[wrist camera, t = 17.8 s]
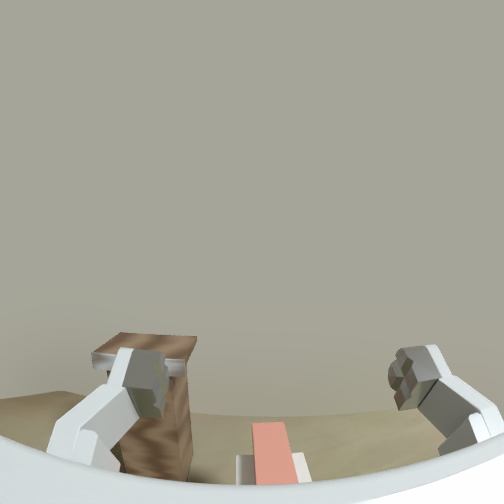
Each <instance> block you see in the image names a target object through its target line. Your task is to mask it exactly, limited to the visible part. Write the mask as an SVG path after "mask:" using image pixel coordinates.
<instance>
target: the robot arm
mask: <svg viewBox="0 0 504 504" xmlns="http://www.w3.org/2000/svg"><path fill="white" fill-rule="evenodd" d="M396 358H397V359H396V360H395V361H394V362H393V363H392V364H391V365H390V368H389V371H388V380H389V384H390V387H391V388H392V389H394V390H395V391H396V393H395V395H394V399H395V401H396V404H397V407H398V410H399V411H401V410H408V409H414V408H418V410H419V411H420V412H421V413H422V414H423V415H424V416H425V417H426V418H427V419H428V420H429V421H430V422H431V423H432V424H433V425H434V426H435V427H436V428H437V429H438V430H439V431H440V432H441V433H442V434H443V435H444V436H445V437H446V438H447V439H446V440H445V441H444V442H443V443H442V444H441V445H440V446H439V448H438V451H439V454H440V456H439V457H436V458H432V459H429V460H425V461H422V462H418V463H415V464H411V465H407V466H403V467H399V468H394V469H390V470H385V471H381V472H376V473H371V474H365V475H359V476H353V477H347V478H340V479H333V480H325V481H315V482H305V483H292V484H272V485H225V484H205V483H192V482H181V481H172V480H164V479H157V478H150V477H143V476H137V475H132V474H126V473H121V472H119V470H120V462H119V461H118V460H117V458H116V457H115V456H114V455H113V454H112V452H111V451H110V450H111V449H112V447H113V446H114V445H115V444H116V443H117V442H118V441H119V440H120V439H121V438H122V437H123V435H124V434H125V433H126V432H127V431H128V430H129V429H130V428H131V427H132V425H133V424H134V423H135V422H136V421H137V420H138V419H139V416H140V417H150V418H161V419H163V415H164V410H165V404H166V402H165V399H164V395H165V394H166V393H167V392H168V387H169V371H168V367H167V366H166V365H165V359H166V358H165V355H164V352H160V351H150V350H142V349H133V348H124V347H121V348H120V349H119V350H118V352H117V355H116V358H115V360H114V363H113V366H112V369H111V372H110V375H109V378H108V381H107V384H102V385H101V386H99V387H98V388H97V389H96V390H95V391H93V392H92V393H91V394H90V395H88V396H87V397H86V398H85V399H83V400H82V401H81V402H80V403H78V404H77V405H76V406H75V407H73V408H72V409H71V410H70V411H68V412H67V413H66V414H65V415H63V416H62V417H61V418H60V419H59V420H57V421H56V424H55V427H54V430H53V433H52V436H51V439H50V442H49V445H48V448H47V451H46V452H43V451H40V450H37V449H34V448H32V447H29V446H26V445H24V444H21V443H18V442H16V441H13V440H11V439H8V438H6V437H4V436H1V435H0V504H504V422H503V419H502V417H501V415H500V413H499V411H498V409H497V407H496V405H495V404H493V403H492V402H491V401H489V400H488V399H487V398H485V397H484V396H483V395H481V394H480V393H479V392H477V391H476V390H474V389H473V388H472V387H470V386H469V385H468V384H466V383H465V382H463V381H462V380H461V379H459V378H458V377H457V376H452V374H451V372H450V370H449V368H448V366H447V364H446V362H445V360H444V358H443V356H442V354H441V352H440V350H439V348H438V347H437V346H436V345H434V344H433V345H425V346H416V347H408V348H401V349H399V350H398V351H397V353H396Z"/></svg>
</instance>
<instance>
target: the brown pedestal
mask: <svg viewBox="0 0 504 504" xmlns="http://www.w3.org/2000/svg"><path fill="white" fill-rule="evenodd" d="M196 342H197V336H174V335H173V336H172V335H154V334H137V333H122V332H120V333H119V334H118V335H116V336H115V337H113V338H112V339H110V340H109V341H108V342H106V343H105V344H104V345H102V346H101V347H100V348H98V349H96V350H95V351H94V352H92V353H91V356H92V363H93V368H94V369H102V370H107V376H108V378H109V375H110V372H111V369H112V366H113V363H114V360H115V358H116V355H117V352H118V350H119V349H120V348H121V347H124V348H133V349H142V350H150V351H160V352H164V355H165V358H166V359H165V365H166V366H167V367H168V371H169V387H168V392H167V393H166V394H165V395H164V399H165V402H166V404H165V410H164V415H163V419H161V418H150V417H140V416H139V419H138V420H137V421H136V422H135V423H134V424H133V425H132V427H131V428H130V429H129V430H128V431H127V432H126V433H125V434H124V435H123V437H122V438H121V439H120V440H119V444H120V448H121V452H122V457H123V461H124V465H125V469H126V473H127V474H132V475H137V476H143V477H150V478H157V479H164V480H172V481H181V482H187V478H188V474H189V469H190V465H191V460H192V456H193V443H192V433H191V422H190V411H189V398H188V397H189V396H188V383H187V367H186V366H187V365H186V364H187V361H188V359H189V357H190V355H191V353H192V351H193V349H194V346H195V344H196Z"/></svg>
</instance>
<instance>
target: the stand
mask: <svg viewBox="0 0 504 504" xmlns="http://www.w3.org/2000/svg"><path fill="white" fill-rule="evenodd" d="M292 458H293V462H294V466H295V470H296V474H297V478H298V482H299V483H305V482H312V480H311V477H310V474H309V471H308V467H307V464H306V461H305V458H304V454H303V452H301V453H292ZM236 485H255V473H254V458H253V455H237V457H236Z"/></svg>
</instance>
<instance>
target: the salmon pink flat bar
mask: <svg viewBox="0 0 504 504" xmlns="http://www.w3.org/2000/svg"><path fill="white" fill-rule="evenodd" d="M252 441H253V458H254V473H255V485H272V484H292V483H299V482H298V478H297V474H296V470H295V466H294V462H293V458H292V453H291V449H290V445H289V441H288V437H287V433H286V429H285V425H284V422H272V423H252Z"/></svg>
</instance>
